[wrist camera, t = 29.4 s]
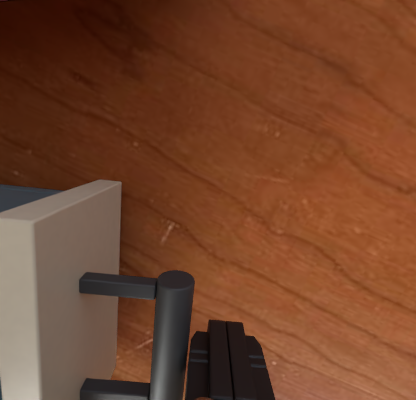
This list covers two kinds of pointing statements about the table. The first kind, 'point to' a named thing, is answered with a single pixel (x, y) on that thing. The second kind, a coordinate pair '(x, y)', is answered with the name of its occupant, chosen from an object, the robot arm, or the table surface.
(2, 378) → the drawer
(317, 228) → the table surface
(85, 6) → the table surface
